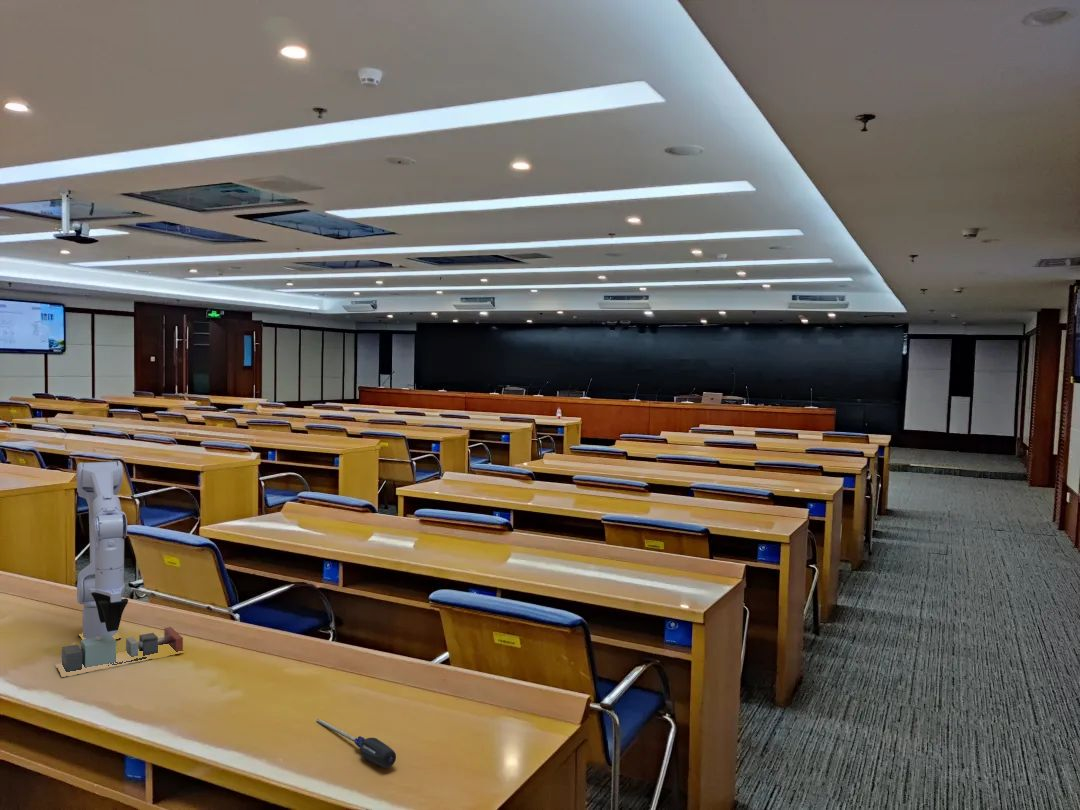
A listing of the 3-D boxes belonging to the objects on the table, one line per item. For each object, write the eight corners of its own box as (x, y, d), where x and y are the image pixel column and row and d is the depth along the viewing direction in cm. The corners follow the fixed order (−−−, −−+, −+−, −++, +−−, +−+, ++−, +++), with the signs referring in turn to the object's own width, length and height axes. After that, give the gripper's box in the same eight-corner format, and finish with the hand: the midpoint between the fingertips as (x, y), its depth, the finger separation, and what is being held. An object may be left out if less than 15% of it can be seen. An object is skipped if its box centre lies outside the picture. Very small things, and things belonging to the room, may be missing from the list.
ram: (123, 647, 177) (123, 635, 177) (170, 639, 184) (170, 626, 184) (133, 660, 170) (133, 647, 170) (182, 650, 177) (182, 637, 177)
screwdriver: (308, 723, 143) (308, 704, 143) (325, 718, 146) (325, 699, 146) (381, 777, 124) (381, 755, 124) (399, 770, 127) (400, 748, 127)
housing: (80, 661, 169) (80, 636, 169) (110, 655, 173) (110, 631, 173) (85, 668, 166) (85, 642, 166) (115, 662, 170) (115, 636, 170)
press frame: (55, 667, 168) (55, 646, 168) (174, 644, 184) (174, 625, 184) (61, 678, 162) (61, 657, 161) (183, 653, 178) (183, 634, 178)
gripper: (83, 563, 173) (83, 621, 174) (95, 576, 162) (95, 638, 163) (117, 559, 178) (117, 615, 178) (131, 571, 167) (131, 631, 167)
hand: (109, 626), depth 171 cm, fingers open, 7 cm apart
